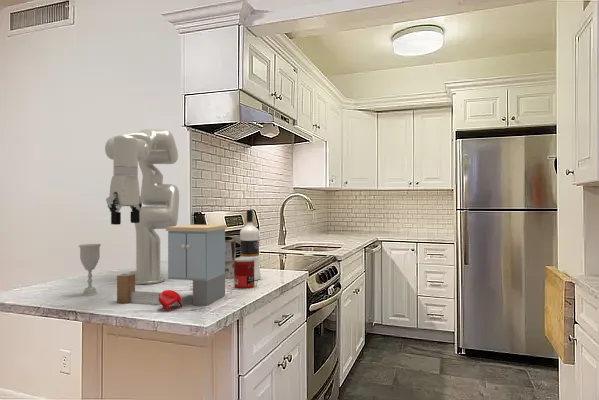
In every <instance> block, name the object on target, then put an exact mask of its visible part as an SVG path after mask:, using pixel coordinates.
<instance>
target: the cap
mask: <svg viewBox="0 0 599 400" xmlns="http://www.w3.org/2000/svg"><path fill="white" fill-rule="evenodd" d="M160 293H161V294H160V297H159V298H158V300H159V302H160V303H161V304H160V305H161V306H162V309H167V311H168V312H171V310H172V309H171V305H172V304H174V303H177V304H178V305H179V306H180V307H183V304H182V297H181V295H180V294H179V293H178V292H177V291H175V290H173V289H172V290H171V289H166V290H163V291H162V292H160Z"/></svg>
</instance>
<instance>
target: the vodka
mask: <svg viewBox="0 0 599 400" xmlns="http://www.w3.org/2000/svg"><path fill="white" fill-rule="evenodd" d="M253 212H254V211H253V210H252V209H247V210H246V225H245V226H244V227H242V228H241V229H240V231H239V236H240V238H239V239H240V256H239V258H254V282H255V281H259V280H260V279H261V278H262V276H261V275H262V274H261V270H260V230H259V228H257V227H256V226H255V225H254V223H253V215H254V214H253Z"/></svg>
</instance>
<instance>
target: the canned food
mask: <svg viewBox="0 0 599 400" xmlns="http://www.w3.org/2000/svg"><path fill="white" fill-rule="evenodd" d="M233 280H234V282H233V285H234V288H236V289H243V290H244V289H245V290H246V289H251V288H254V287H255V281H254V258H240V257H236V259H234V278H233Z"/></svg>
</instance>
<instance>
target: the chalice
mask: <svg viewBox="0 0 599 400" xmlns="http://www.w3.org/2000/svg"><path fill="white" fill-rule="evenodd" d="M101 246H102V244H101V243H87V244H86V243H85V244H79V245H78V247H79V258H80V259H79V260H80V262H81V265H82V266H83V268H84V270H85V271H87V272H88V274H87V284H88V285H87V287H86V288H84V291H83V293H82V294H81V296H83V297H90V296H91V297H92V296H95V295H98V294H99V293H98V291H97V289H96V288H95V287H94V286H93V285H92V284H93V283H92V282H93V279H92V277H93V274H92V271H93V270H95V269H96V267H97V265H98V263H99V260H100V252H101V251H100V248H101Z"/></svg>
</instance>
